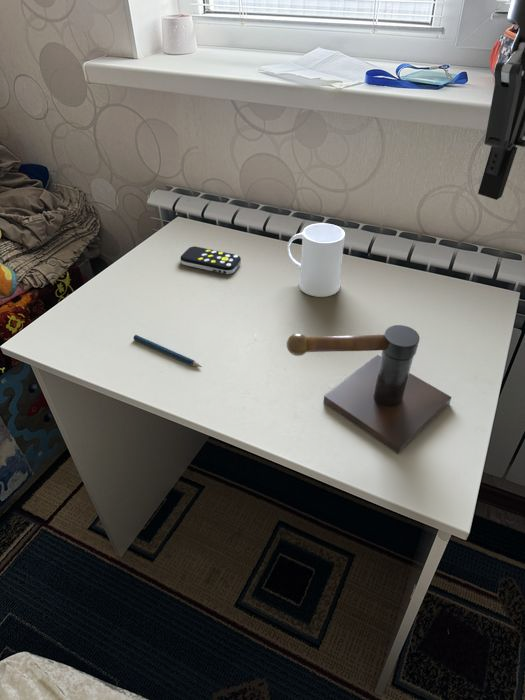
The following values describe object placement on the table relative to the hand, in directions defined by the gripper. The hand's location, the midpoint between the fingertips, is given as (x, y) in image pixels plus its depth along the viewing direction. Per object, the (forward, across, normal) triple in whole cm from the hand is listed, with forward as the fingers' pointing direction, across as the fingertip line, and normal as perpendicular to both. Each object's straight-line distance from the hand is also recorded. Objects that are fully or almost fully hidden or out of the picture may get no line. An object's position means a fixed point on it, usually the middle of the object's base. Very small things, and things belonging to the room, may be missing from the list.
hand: (489, 195), depth 69 cm
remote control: (+30, +8, -52) cm, 60 cm away
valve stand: (+29, +16, 0) cm, 33 cm away
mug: (+30, -2, -31) cm, 43 cm away
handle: (+19, +21, -5) cm, 28 cm away
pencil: (+30, +33, -34) cm, 56 cm away
